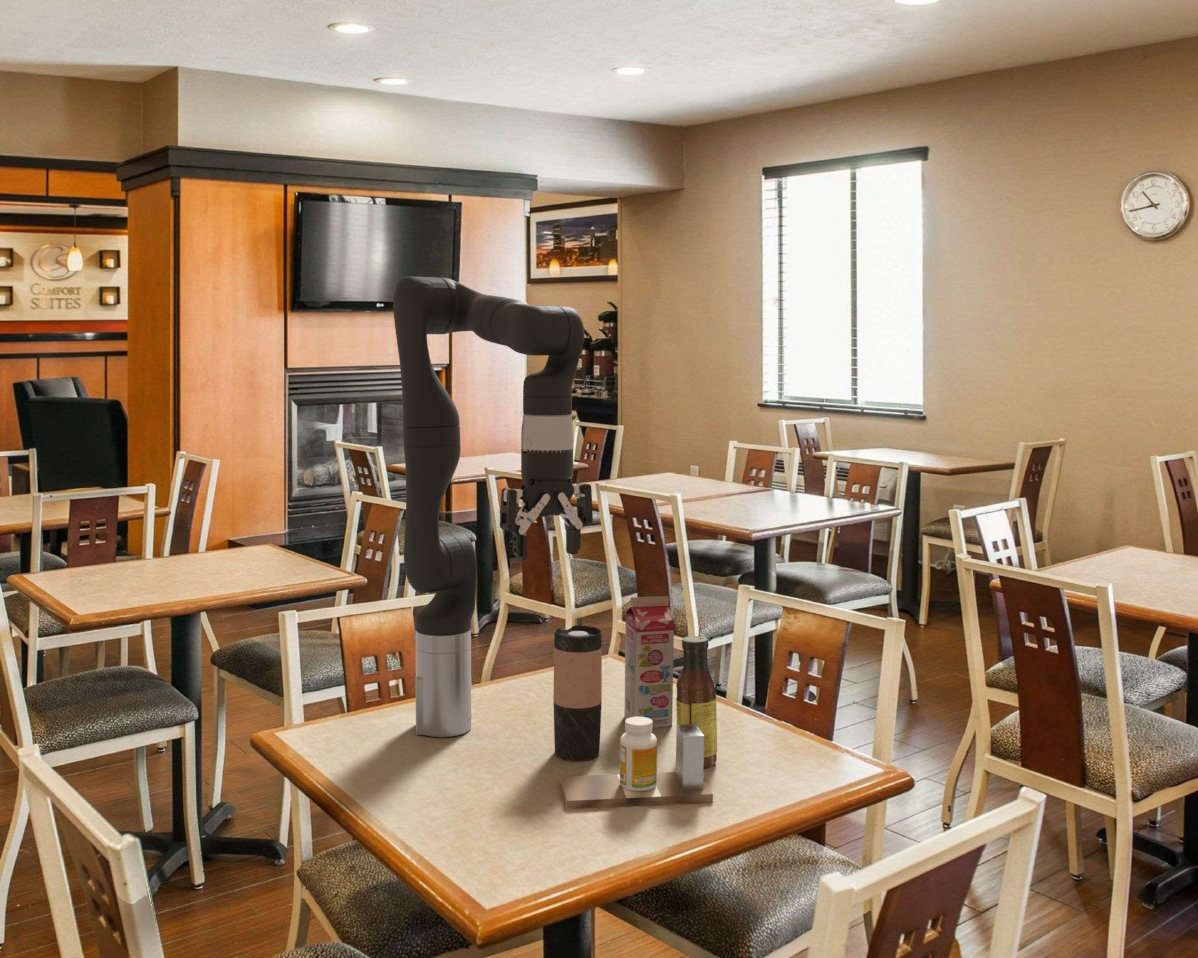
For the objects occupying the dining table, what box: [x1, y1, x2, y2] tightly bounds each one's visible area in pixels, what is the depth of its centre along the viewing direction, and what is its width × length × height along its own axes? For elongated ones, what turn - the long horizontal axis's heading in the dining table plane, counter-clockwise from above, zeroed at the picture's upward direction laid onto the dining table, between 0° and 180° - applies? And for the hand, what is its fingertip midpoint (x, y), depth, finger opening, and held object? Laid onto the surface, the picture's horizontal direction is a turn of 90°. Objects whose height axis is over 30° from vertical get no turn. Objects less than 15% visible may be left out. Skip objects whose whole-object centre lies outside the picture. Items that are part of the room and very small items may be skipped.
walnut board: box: [559, 771, 714, 810], centre depth 168 cm, size 21×9×1 cm, turn 98°
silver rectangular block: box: [675, 724, 704, 790], centre depth 168 cm, size 3×5×8 cm, turn 8°
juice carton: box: [623, 595, 675, 729], centre depth 198 cm, size 7×7×22 cm
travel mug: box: [552, 624, 603, 762], centre depth 183 cm, size 8×8×20 cm
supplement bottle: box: [619, 717, 658, 791], centre depth 167 cm, size 5×5×10 cm
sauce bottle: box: [675, 635, 718, 769], centre depth 179 cm, size 7×6×20 cm
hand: (546, 556), depth 168 cm, fingers open, 8 cm apart
